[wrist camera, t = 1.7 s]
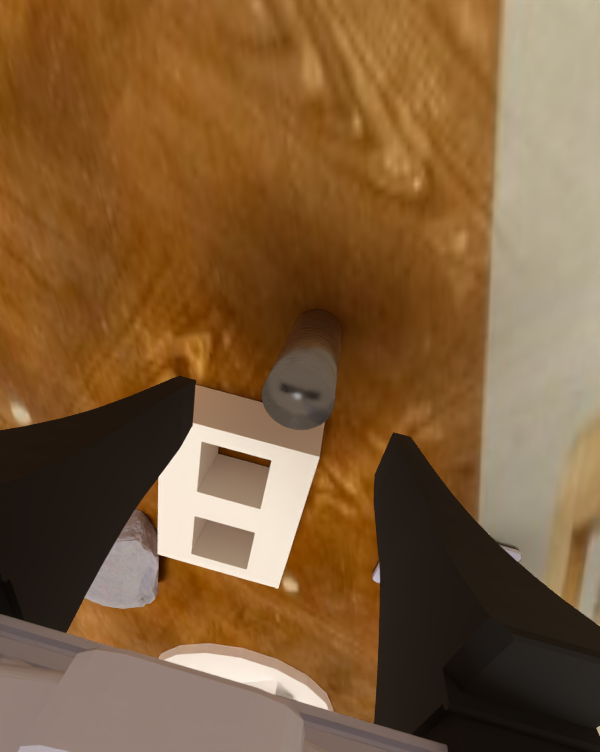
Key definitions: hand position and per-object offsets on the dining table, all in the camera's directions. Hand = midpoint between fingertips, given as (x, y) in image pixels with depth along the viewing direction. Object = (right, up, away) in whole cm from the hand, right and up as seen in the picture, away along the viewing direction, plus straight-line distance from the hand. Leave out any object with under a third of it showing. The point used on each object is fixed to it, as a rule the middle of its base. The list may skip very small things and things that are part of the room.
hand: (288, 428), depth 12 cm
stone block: (-17, -15, +23) cm, 32 cm away
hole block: (-4, -6, +15) cm, 17 cm away
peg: (+1, +4, +9) cm, 10 cm away
